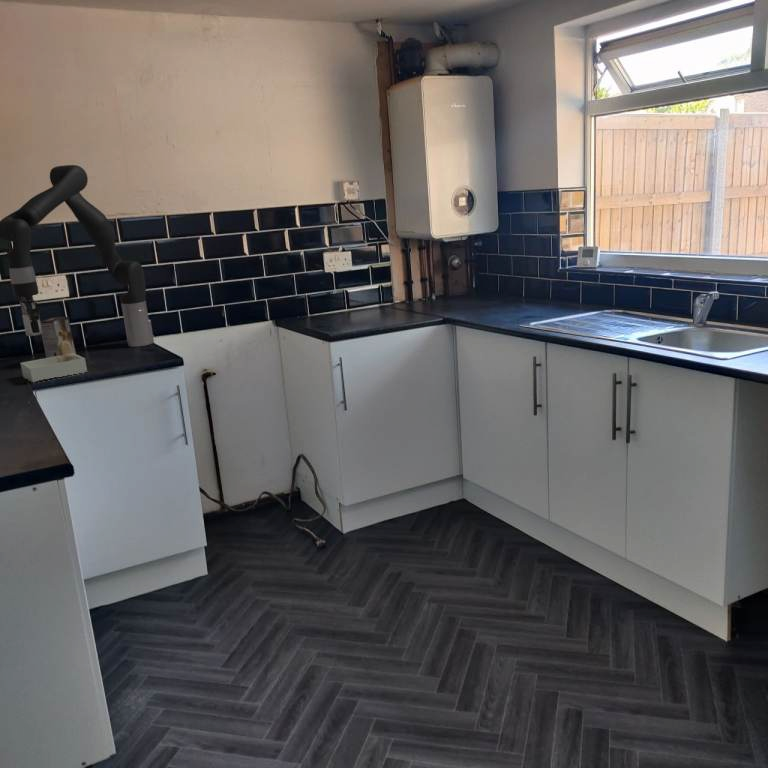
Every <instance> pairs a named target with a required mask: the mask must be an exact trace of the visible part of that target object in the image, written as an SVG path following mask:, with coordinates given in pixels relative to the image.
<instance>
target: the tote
mask: <svg viewBox="0 0 768 768" xmlns="http://www.w3.org/2000/svg"><path fill="white" fill-rule="evenodd" d="M70 354H74V353H70ZM65 355H66V354H65ZM74 355H75V356H76V360H71V361H66V362H61V363H58V362H57V357H56V356H54V357H49V358H46V357H45V358H44V357H43V358H40V359H39V358H38V359H35V360H29V361H23V362H20V367H21V368H20V369H21V372H22V377H23V378H24V379H26V380H27V379H28V380H27V381H29V382H30V381H31V382H30V383H32V382H33V383H34V382H36V381H39V380H43V379H49V378H54V377H62V376H67V375H72V376H74V375H73V374H77V375H80V374H79V373H82V374H85V372H87V373H88V368H87V363H86V358H85V357H83V356H81V355H78V354H77V353H76V354H74ZM33 383H32V384H33ZM34 384H35V383H34Z"/></svg>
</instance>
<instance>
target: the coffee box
mask: <svg viewBox="0 0 768 768" xmlns="http://www.w3.org/2000/svg"><path fill="white" fill-rule="evenodd" d="M40 323H41V328H42V333H43V334H41V338H42V342H43V348H44V353H45V358H49V357H54V356H60V355H65V354H70V353H74V354H77V353H76V347H75V343H74V342H75V341H74V338H73V332H72V328H71V322H70V318H69V316H56V317H50V318H48V319H45V320H42V321H41V320H40Z"/></svg>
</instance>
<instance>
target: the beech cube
mask: <svg viewBox="0 0 768 768" xmlns="http://www.w3.org/2000/svg"><path fill="white" fill-rule="evenodd" d="M56 357H57V362H58V363H61V362H66V361H71V360H76V356H75V355H74V354H66V355H60V356H56Z"/></svg>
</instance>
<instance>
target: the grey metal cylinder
mask: <svg viewBox="0 0 768 768" xmlns="http://www.w3.org/2000/svg"><path fill="white" fill-rule="evenodd" d="M21 316H22V320H23V326H24V329H25V336H27V337H33V336H34V337H36V336H39V335H40V336H41V335H42V334H43V333H42V328H41V323H40V322H41V319H40V318H41V317H39V320H38V325H39V330H40V332H38V333H33V332H32V329H31V324H30V321H29V317H28V316H27V315H26V314H22V315H21ZM32 316H33V317H35V315H34V314H33V315H32Z"/></svg>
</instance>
